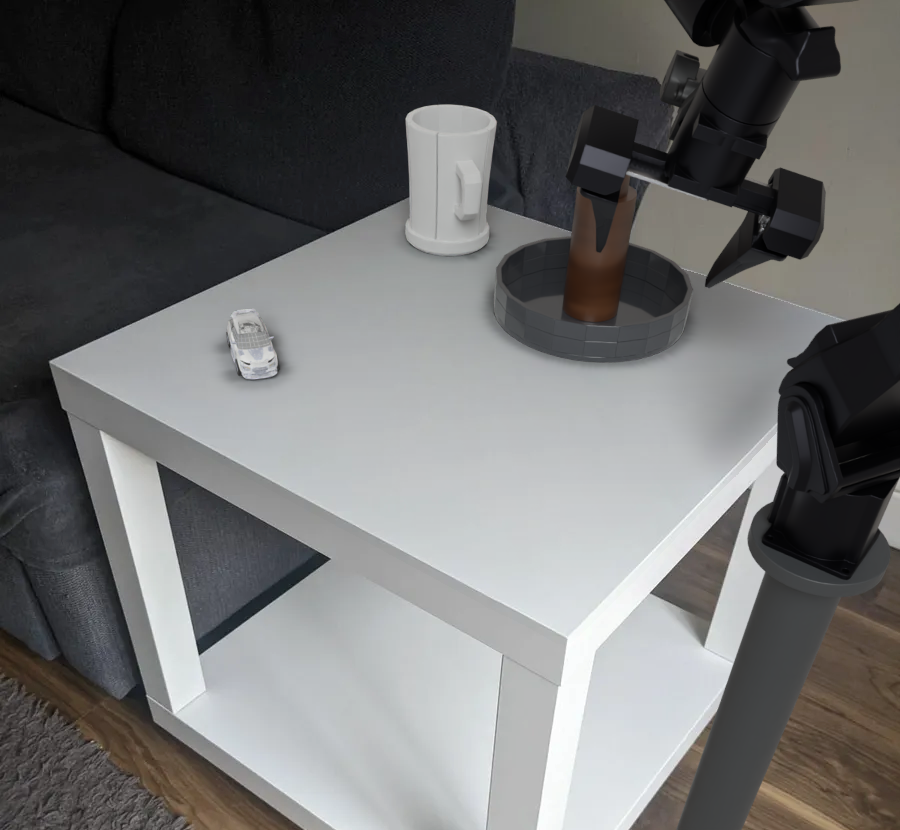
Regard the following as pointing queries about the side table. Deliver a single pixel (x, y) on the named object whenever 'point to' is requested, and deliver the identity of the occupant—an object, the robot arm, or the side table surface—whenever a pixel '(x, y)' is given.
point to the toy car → (251, 345)
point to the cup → (449, 178)
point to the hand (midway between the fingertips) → (653, 266)
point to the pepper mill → (597, 259)
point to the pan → (554, 332)
